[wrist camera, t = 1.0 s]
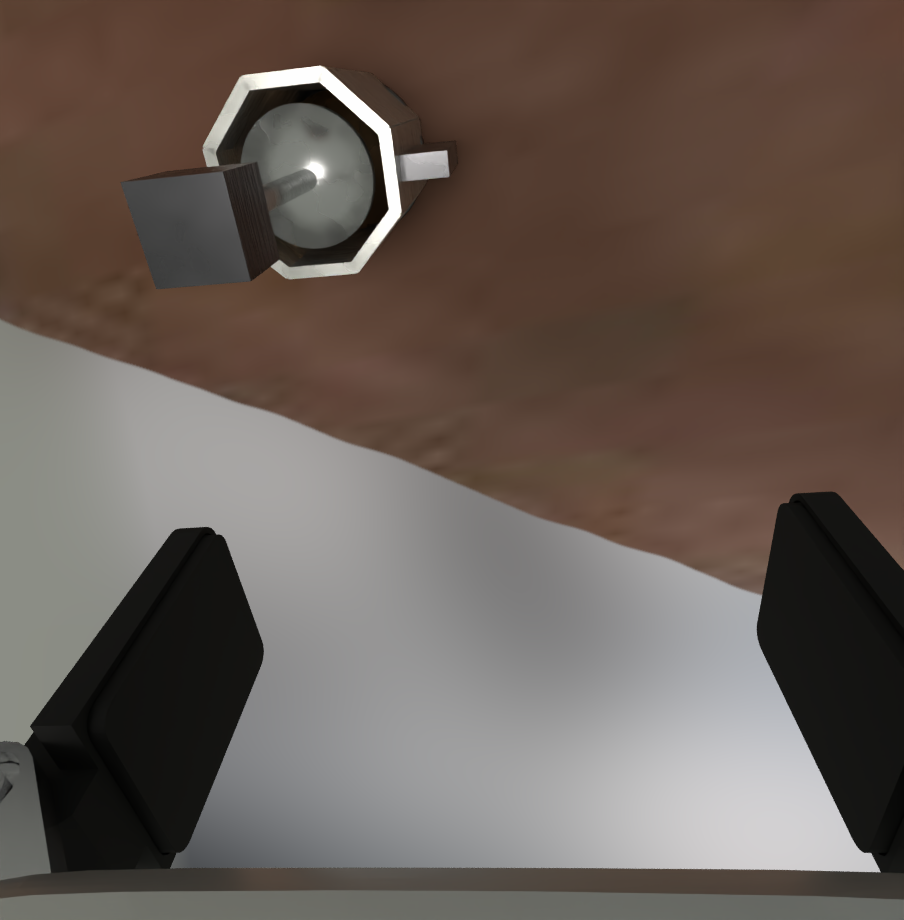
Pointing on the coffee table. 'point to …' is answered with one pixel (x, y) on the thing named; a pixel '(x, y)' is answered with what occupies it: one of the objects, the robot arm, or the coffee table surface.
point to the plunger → (255, 200)
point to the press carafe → (380, 126)
